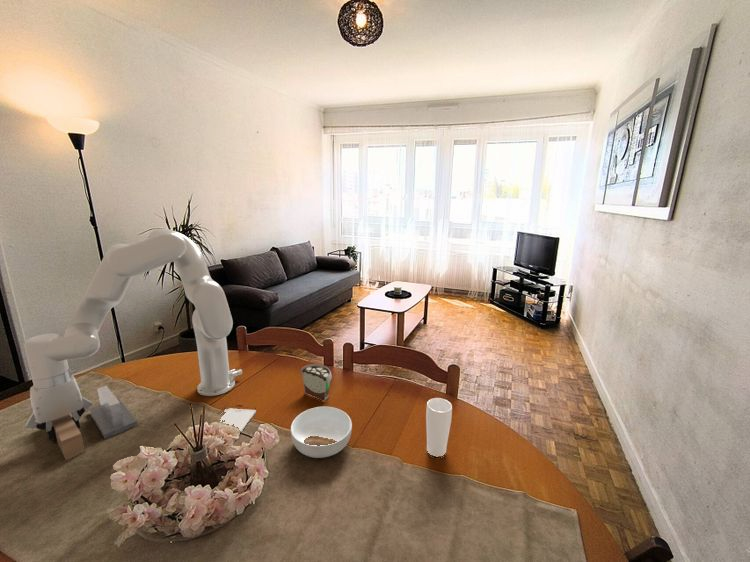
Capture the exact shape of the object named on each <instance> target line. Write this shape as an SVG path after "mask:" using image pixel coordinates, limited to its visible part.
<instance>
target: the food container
mask: <svg viewBox="0 0 750 562" xmlns="http://www.w3.org/2000/svg"><path fill="white" fill-rule="evenodd" d="M300 373H301V374H302V382H303V391H304V394H305V393H307V394H310V395H312V396H315V397H317V398H319V399H321V400H324V401H326V400H327V398H328V399H329V393H330V382H331V380H332V378H333V376H332V372H331V369H330V368H329V367H328V366H326V365H323V364H308V365H305V366H303V367H301V369H300ZM327 401H328V400H327ZM327 401H326V402H327Z"/></svg>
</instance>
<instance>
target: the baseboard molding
mask: <svg viewBox="0 0 750 562" xmlns="http://www.w3.org/2000/svg"><path fill="white" fill-rule="evenodd" d="M225 407H227V404H225V405H224V407H221V408H222V411H224V412H226V413H225V414H224V415H223V416H222V417H221V419H220V420H221V421H220V422H222V420H223V421H224V420H225V422H223V423H226V424H229V425H233V424H234V426H235V427H238V428H239V430H240V431H241V432H242V433H243V431H244V430H245V429H246V427H247V426H246V425H248V424H249V423H250V422H251V420H252V419H253V418H254V416H255V415H256V413H257V410H256V408H257V407H254V409H247V408H249V407H246V406H245V408H246V409H243V408H244V406H243V405H242V404H240V405H238V404H236V406H235V405H234V406H233V407H240V408H231V407H229V408H228V409H227V408H226V409H225ZM251 418H252V419H251ZM250 419H251V420H250ZM249 421H250V422H249ZM248 422H249V423H248ZM247 423H248V424H247ZM245 426H246V427H245ZM244 428H245V429H244ZM243 429H244V430H243Z"/></svg>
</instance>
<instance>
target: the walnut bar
mask: <svg viewBox="0 0 750 562" xmlns="http://www.w3.org/2000/svg"><path fill="white" fill-rule="evenodd" d="M52 426H53V428H54V430H55V433H56V438H57V441H56V443H57V444H58V446H59V449H60V451H61V453H62V455H63V457H64V459H65V461H68V460H70V459H72V457H73V458H75V457H77V456H79V455H81V454H80V453H82V454H84V453H86V450H85V445H84V440H83V435H82V433H81V431H80V428H79V429H78V427H77V426H76V424H75V422H74V421H73V419H72V415H71V413H70V414H67V415H64V416H62V417H59V418H56V419H53V420H52ZM83 452H84V453H83ZM78 454H79V455H78ZM76 455H77V456H76ZM74 456H75V457H74ZM67 459H68V460H67Z"/></svg>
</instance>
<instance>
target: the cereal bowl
mask: <svg viewBox="0 0 750 562" xmlns="http://www.w3.org/2000/svg"><path fill="white" fill-rule="evenodd" d="M352 430H353V422H352V419H351V417H350V416H349V415H348V414H347V412H345V411H343V410H342V409H340V408H336V407H335V406H333V407H332V406H316V407H313V408H308V409H306V410H305V411H302V412H301V413H299V414H298V415H297V416H296V417H295V418H294V419H293V421H292V422H291V426H290V434H291V435H290V437H291V440H292V444H293V445H294V447H295V448H296V450H298V452H300V453H301V454H302V455H305V456H307V457H310V458H315V459H319V458H320V459H322V458H329V457H331V456H334V455H336V454H338V453H339V452H341V451H342V450H343V449H345V447H346V446H347V444H348V443H349V441H350V439H351V435H352ZM310 436H319V437H323V438H328V439H333V440H335V441H337V442H335V443H332V444H328V445H320V446H317V445H309V444H305V443H304V440H305V439H306V438H308V437H310Z"/></svg>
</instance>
